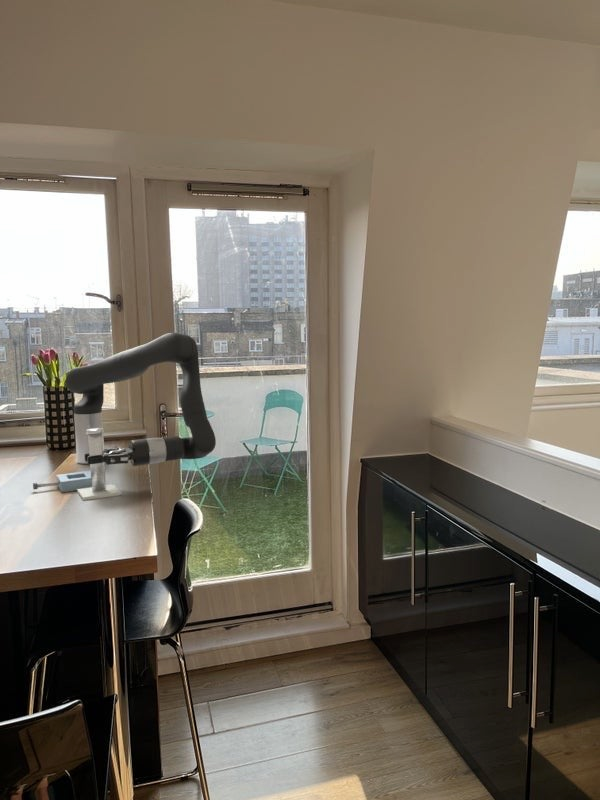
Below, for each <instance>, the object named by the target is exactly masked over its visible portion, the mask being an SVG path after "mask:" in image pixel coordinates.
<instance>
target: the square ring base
mask: <svg viewBox="0 0 600 800" xmlns="http://www.w3.org/2000/svg"><path fill="white" fill-rule="evenodd" d="M55 477H56V481H51V482H45V483H43V482H42V483H37V482H33V483H32V489H33V490H38V488H43V487H51V486H57V487H58V489H59V490H60V492H61V493H64V492H65V493H67V492H73V491H77V489H82V488H90V487H92V483H91V470H87V471H86V470H85V471H76V472H70V473H61V474H60V473H59V474H56V476H55Z"/></svg>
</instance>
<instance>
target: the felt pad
mask: <svg viewBox="0 0 600 800" xmlns="http://www.w3.org/2000/svg"><path fill="white" fill-rule="evenodd" d="M76 492H77V494H78V495H79V497H80V498H81V499H82V501H88V500H89V501H90V500H95V499H101V498H102V499H104V498H108V497H116V496H121V495H122V493H121V491H120V490H119V489H118V488H117V487H116V486H115V484H106V489H105V490H101V491H93V490H92V487H90V488H82V489H77V490H76Z"/></svg>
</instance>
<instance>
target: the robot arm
mask: <svg viewBox="0 0 600 800" xmlns="http://www.w3.org/2000/svg"><path fill="white" fill-rule="evenodd" d="M162 363H175V364H179V366H180V369H181V372H182V378H183V379H182V388H181V392H180V399H179V400H180V409H181V412H182V417H183V420H184V424H185V426H186V427H188V428H189V430H190V434H191V436H189V437H180V436H178V435H177V436H173V435H172V436H164V437H150V438H140V439H132V440H130V441H129V443H128V447H125V448H124V447H123V446H112V447H107V448H105V442H104V438H103V451H104V454H102V456H101V455H94V456H89V442H88V434H86V430H88V429H93V428H103V429H104V424H103V422H104V421H103V413H102V412H103V405H104V393H105V392H104V389H105V387H104V385H106V384H113V383H119V382H125V381H127V380H132V379H135V378H137V377H140V376H141V375H143V374H145V372H146V371H148V369H149V368H150V367H151V366H154V365H157V364H162ZM199 363H200V360H199V351H198V345H197V342H196V339H195V338H193V337H192V336H190V335H187V334H184V333H179V332H168V333H165V334H163V335H161V336H159V337H157V338H155V339H153V340H152V341H149V342H147V343H145V344H141V345H138V346H135V347H132V348H130V349H126V350H124V351H123V350H122V351H121V352H117V353H115V354H113V355H110V356H108V357H106V358H104V359H101V360H99V361H97V362H95V363H92V364H89V365H84V366H78V367H76V366H75V367H73V368H72V369H70V370H69V371H68V373H67V375H66V376H65V380H64V381H65V382H64V383H65V385H66V386H65V387H66V388H67V390H68V391H70V392H71V393H73V394H77V395H82V398H80V400H79V401H78V402H77V403H75V404H74V405H73V418H74V433H75V435H74V436H75V450H76V451H75V452H76V463H77V464H84V465H90V464H97V463H104V465H105V464H106V465H108V466H109V465H120V464H124V465H125V464H129V461H130V464H131V465H132V466H133V467H138V466H147V465H153V464H158V463H163V462H169V461H171V462H172V461H177V460H196V459H197V460H198V459H203V458H205V457H206V456H208V455H209V454H211V453H212V452H213V451H214V449H215V447H216V444H217V441H216V435H215V431H214V430H213V427H212V424H211V423H210V421H209V419H208V415H207V410H206V406H205V402H204V398H203V393H202V388H201V377H200V375H201V373H200V364H199ZM102 436H103V437H104V433H102Z"/></svg>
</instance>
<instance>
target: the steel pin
mask: <svg viewBox="0 0 600 800" xmlns="http://www.w3.org/2000/svg"><path fill="white" fill-rule="evenodd" d="M102 433H103V434H104V427H103V428H93V429H88V430H86V434H88V442H89V456H94V455H101V456H102V454H105V453H104V451H103V439H104V435H103V436H102ZM105 467H106V466H105V464H104V463H97V464H89V468H90V469H89V470H90V471H91V483H92V490H93V491H101V490H105V489H106V485H107V482H106V471H105V469H106V468H105Z"/></svg>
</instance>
